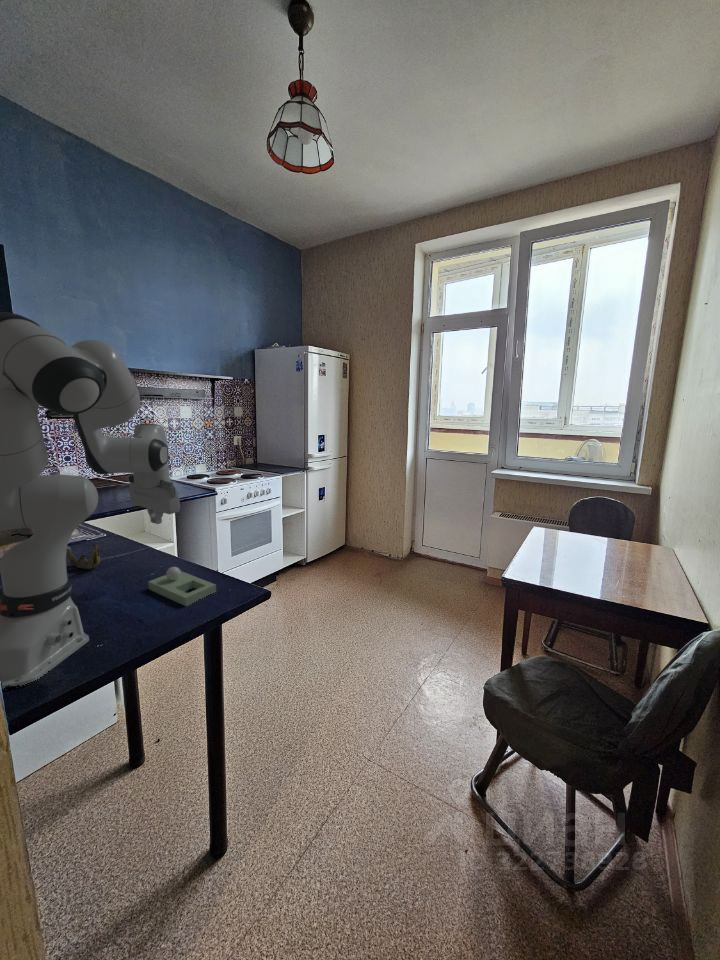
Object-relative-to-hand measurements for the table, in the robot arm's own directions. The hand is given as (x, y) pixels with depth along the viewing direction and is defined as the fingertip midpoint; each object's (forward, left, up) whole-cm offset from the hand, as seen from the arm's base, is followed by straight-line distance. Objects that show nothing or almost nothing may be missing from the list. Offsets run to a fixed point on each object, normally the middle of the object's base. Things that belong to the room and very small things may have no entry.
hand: (156, 523), depth 118 cm
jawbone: (+13, +28, -19) cm, 36 cm away
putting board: (-7, -9, -19) cm, 22 cm away
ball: (-4, -6, -15) cm, 16 cm away
